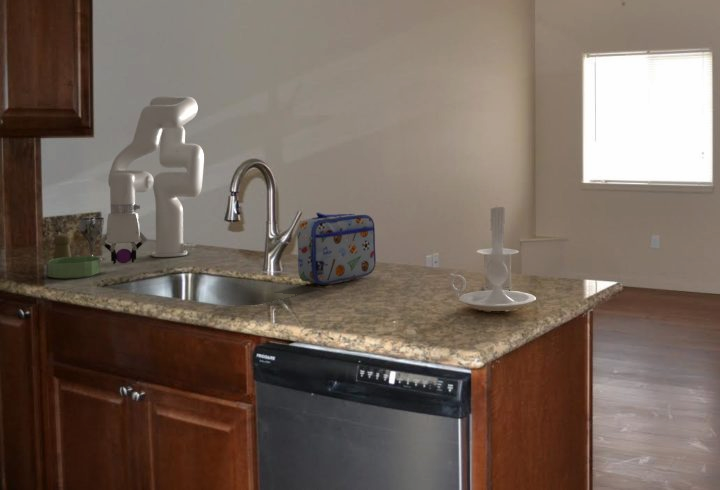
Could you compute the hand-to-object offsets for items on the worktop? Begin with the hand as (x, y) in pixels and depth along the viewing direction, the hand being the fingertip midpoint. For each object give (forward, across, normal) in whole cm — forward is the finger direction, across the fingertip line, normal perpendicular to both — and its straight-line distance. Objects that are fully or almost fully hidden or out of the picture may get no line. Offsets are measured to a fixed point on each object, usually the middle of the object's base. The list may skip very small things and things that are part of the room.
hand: (123, 262), depth 269 cm
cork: (+3, +19, -12) cm, 23 cm away
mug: (+2, -103, +81) cm, 131 cm away
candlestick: (+1, -92, +104) cm, 138 cm away
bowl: (+2, +14, +7) cm, 16 cm away
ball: (-2, 0, 0) cm, 2 cm away
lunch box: (+2, -62, +48) cm, 79 cm away
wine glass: (+3, +11, -26) cm, 29 cm away
